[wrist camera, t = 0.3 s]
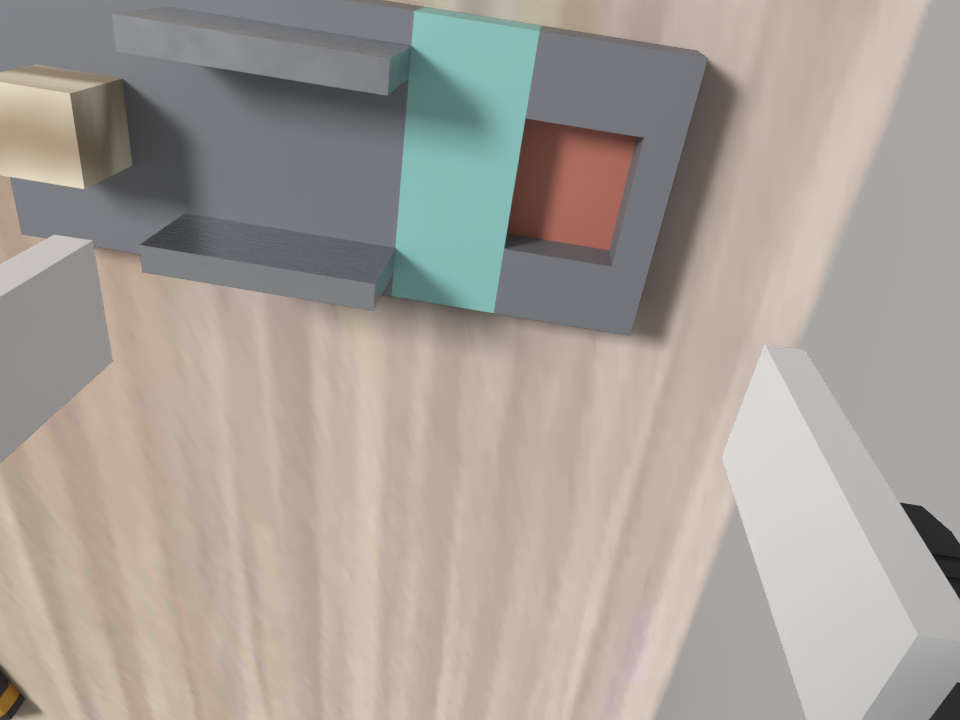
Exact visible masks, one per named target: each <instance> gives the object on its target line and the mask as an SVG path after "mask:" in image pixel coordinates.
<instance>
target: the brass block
mask: <svg viewBox="0 0 960 720" xmlns="http://www.w3.org/2000/svg"><path fill="white" fill-rule="evenodd" d="M130 166H132V156H131V148H130V139H129V131H128V122H127V113H126V105H125V96H124V88H123V79H122V78H116V77H110V76H104V75H98V74H92V73H86V72H79V71H73V70H67V69H61V68H55V67H49V66H43V65H32V66H28V67H23V68H18V69H13V70H9V71H4V72H0V175H2V176H8V177H14V178H20V179H26V180H32V181H38V182H44V183H50V184H56V185H62V186H68V187H74V188H80V189H86V188H88V187H90V186H92V185H94V184H96V183H98V182H100V181H102V180H104V179H106V178H108V177H110V176H112V175H114V174H116V173H118V172H120V171H122V170H124V169H126V168H128V167H130Z"/></svg>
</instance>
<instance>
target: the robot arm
mask: <svg viewBox="0 0 960 720" xmlns="http://www.w3.org/2000/svg"><path fill="white" fill-rule="evenodd" d="M112 361H113V360H112V354H111V348H110V342H109V336H108V330H107V324H106V318H105V312H104V306H103V300H102V294H101V288H100V282H99V276H98V270H97V264H96V258H95V252H94V246H93V240H86V239H80V238H73V237H67V236H60V235H53V236H51V237H49V238H47V239H45V240H43V241H42V242H40V243H38V244H36V245H34V246H33V247H31V248H29V249H27V250H25V251H24V252H22V253H20V254H18V255H16V256H14V257H13V258H11V259H9V260H7V261H5V262H4V263H2V264H0V463H1V462H2V461H3V460H4V459H6V458H7V457H8V456H9V455H10V454H11V453H12V452H13V451H14V450H16V449H17V448H18V447H19V446H20V445H21V444H22V443H23V442H24V441H25V440H27V439H28V438H29V437H30V436H31V435H32V434H33V433H34V432H35V431H36V430H38V429H39V428H40V427H41V426H42V425H43V424H44V423H45V422H46V421H47V420H49V419H50V418H51V417H52V416H53V415H54V414H55V413H56V412H57V411H58V410H60V409H61V408H62V407H63V406H64V405H65V404H66V403H67V402H68V401H70V400H71V399H72V398H73V397H74V396H75V395H76V394H77V393H78V392H79V391H81V390H82V389H83V388H84V387H85V386H86V385H87V384H88V383H89V382H90V381H92V380H93V379H94V378H95V377H96V376H97V375H98V374H99V373H100V372H101V371H103V370H104V369H105V368H106V367H107V366H108V365H109V364H110V363H111V362H112ZM722 460H723V463H724V466H725V469H726V472H727V475H728V479H729V482H730V485H731V488H732V491H733V494H734V497H735V500H736V503H737V506H738V509H739V512H740V515H741V519H742V521H743V525H744V528H745V531H746V534H747V537H748V540H749V543H750V546H751V550H752V553H753V556H754V559H755V562H756V565H757V568H758V571H759V574H760V577H761V580H762V583H763V586H764V590H765V593H766V596H767V599H768V602H769V605H770V608H771V611H772V614H773V618H774V621H775V623H776V627H777V630H778V633H779V636H780V639H781V642H782V645H783V648H784V652H785V655H786V658H787V661H788V664H789V667H790V670H791V673H792V676H793V679H794V682H795V686H796V689H797V691H798V695H799V698H800V701H801V704H802V707H803V710H804V713H805V716H806V720H960V544H959V542H958V541H957V539H956V538H955V536H954V535H953V533H952V532H951V531H949V529H947V528H946V527H945V526H944V525H943V524H942V523H941V522H939V521H938V520H937V519H936V518H935V517H934V516H933V515H931V514H930V513H929V512H928V511H927V510H926V509H925V508H923V507H922V506H917V505H911V504H905V503H899V501H898V500H897V498H896V497H895V495H894V493H893V492H892V490H891V488H890V487H889V485H888V484H887V482H886V480H885V479H884V477H883V476H882V474H881V472H880V471H879V469H878V467H877V466H876V464H875V463H874V461H873V459H872V458H871V456H870V455H869V453H868V451H867V450H866V448H865V447H864V445H863V443H862V442H861V440H860V439H859V437H858V435H857V434H856V432H855V430H854V429H853V427H852V426H851V424H850V422H849V421H848V419H847V418H846V416H845V415H844V413H843V411H842V410H841V408H840V407H839V405H838V403H837V401H836V400H835V398H834V397H833V395H832V393H831V392H830V390H829V389H828V387H827V386H826V384H825V383H824V381H823V379H822V377H821V376H820V374H819V373H818V371H817V369H816V368H815V366H814V364H813V363H812V361H811V360H810V358H809V356H808V355H807V353H806V352H805V350H800V349H793V348H787V347H780V346H774V345H767V344H764V347H763V349H762V352H761V355H760V357H759V360H758V363H757V365H756V368H755V371H754V373H753V376H752V379H751V381H750V384H749V387H748V389H747V392H746V395H745V397H744V400H743V402H742V405H741V408H740V410H739V413H738V416H737V418H736V421H735V424H734V426H733V429H732V432H731V434H730V437H729V440H728V442H727V445H726V448H725V450H724V453H723V456H722Z"/></svg>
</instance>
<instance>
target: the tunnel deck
mask: <svg viewBox="0 0 960 720" xmlns="http://www.w3.org/2000/svg"><path fill="white" fill-rule="evenodd" d="M707 60H708V58H707V57H705V56H704V55H703V54H701V53H700V52H698V51H696V50H689V49H683V48H677V47H671V46H665V45H658V44H652V43H646V42H640V41H633V40H627V39H621V38H615V37H608V36H602V35H596V34H590V33H583V32H577V31H571V30H565V29H559V28H552V27H546V26H540V25H534V24H527V23H521V22H515V21H509V20H502V19H496V18H490V17H484V16H477V15H471V14H465V13H459V12H453V11H446V10H440V9H434V8H428V7H421V6H415V5H409V4H403V3H396V2H390V1H384V0H0V72H4V71H9V70H13V69H18V68H23V67H28V66H32V65H43V66H49V67H55V68H61V69H67V70H73V71H79V72H86V73H92V74H98V75H104V76H110V77H116V78H122V79H123V88H124V96H125V105H126V113H127V122H128V131H129V139H130V148H131V156H132V166H130V167H128V168H126V169H124V170H122V171H120V172H118V173H116V174H114V175H112V176H110V177H108V178H106V179H104V180H102V181H100V182H98V183H96V184H94V185H92V186H90V187H88V188H86V189H80V188H74V187H68V186H62V185H56V184H50V183H44V182H38V181H32V180H26V179H20V178H14V177H10V180H11V185H12V189H13V194H14V199H15V204H16V209H17V214H18V218H19V223H20V228H21V233H22V234H23V235H29V236H35V237H41V238H49V237H51V236H53V235H60V236H67V237H73V238H80V239H86V240H93V246H94V247H100V248H106V249H112V250H118V251H124V252H130V253H136V254H140V256H141V264H142V272H144V273H150V274H156V275H162V276H168V277H174V278H180V279H186V280H192V281H198V282H204V283H210V284H216V285H222V286H228V287H233V288H239V289H245V290H251V291H257V292H263V293H269V294H275V295H281V296H287V297H293V298H299V299H305V300H311V301H317V302H323V303H329V304H335V305H341V306H347V307H353V308H359V309H365V310H371V311H374V309H375V307H376V305H377V303H378V301H379V299H380V297H381V295H387V296H393V297H399V298H405V299H411V300H417V301H423V302H429V303H435V304H441V305H447V306H453V307H459V308H465V309H471V310H477V311H483V312H489V313H495V314H501V315H507V316H513V317H519V318H525V319H531V320H537V321H543V322H549V323H555V324H561V325H567V326H573V327H579V328H585V329H591V330H597V331H603V332H609V333H615V334H621V335H627V336H630V335H631V331H632V328H633V324H634V321H635V317H636V314H637V310H638V306H639V303H640V299H641V296H642V292H643V289H644V285H645V281H646V278H647V274H648V271H649V267H650V264H651V260H652V256H653V253H654V249H655V246H656V242H657V239H658V235H659V231H660V228H661V224H662V221H663V217H664V214H665V210H666V206H667V203H668V199H669V196H670V192H671V189H672V185H673V182H674V178H675V174H676V171H677V167H678V164H679V160H680V157H681V153H682V149H683V146H684V142H685V139H686V135H687V132H688V128H689V124H690V121H691V117H692V114H693V110H694V107H695V103H696V99H697V96H698V92H699V89H700V85H701V82H702V78H703V74H704V71H705V67H706V64H707Z"/></svg>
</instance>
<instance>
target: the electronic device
mask: <svg viewBox="0 0 960 720" xmlns="http://www.w3.org/2000/svg"><path fill="white" fill-rule="evenodd" d="M24 699H25V698H24V697H23V696H22V695H21V694H20V693H19V692H18V691H17V690H16V689H15V688H14V687H13V686H12V685H11V684H10V683H9V681H8V679H7V678H6V677H5V676H4V675H3V674H2V673H1V672H0V720H10V719H11V718H12V717H13V716H14V715H15V713H16V712H17V710H18V709H19V708H20V706H21V705H22V703H23V701H24Z"/></svg>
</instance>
